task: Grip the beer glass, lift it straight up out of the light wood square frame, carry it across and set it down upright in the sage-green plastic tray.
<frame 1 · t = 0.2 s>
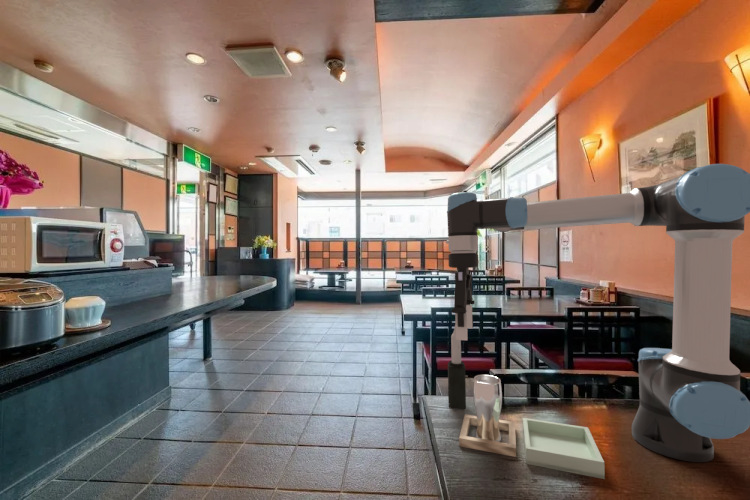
hand: (464, 333, 88), 27 cm above the table, tool pointing down, fingers open, 13 cm apart
tray: (558, 452, 80), on the table
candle: (457, 405, 105), on the table
light wood square frame: (488, 437, 87), on the table
beer glass: (488, 438, 87), resting in light wood square frame
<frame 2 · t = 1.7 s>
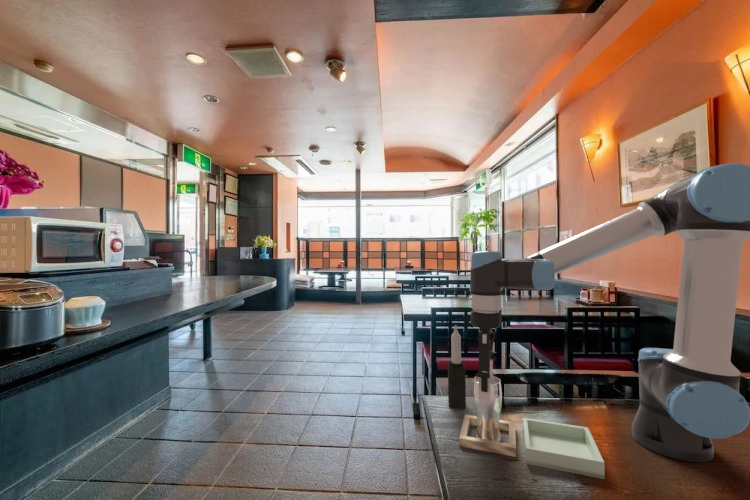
hand: (486, 392, 87), 11 cm above the table, tool pointing down, fingers open, 13 cm apart
nothing on the table moved.
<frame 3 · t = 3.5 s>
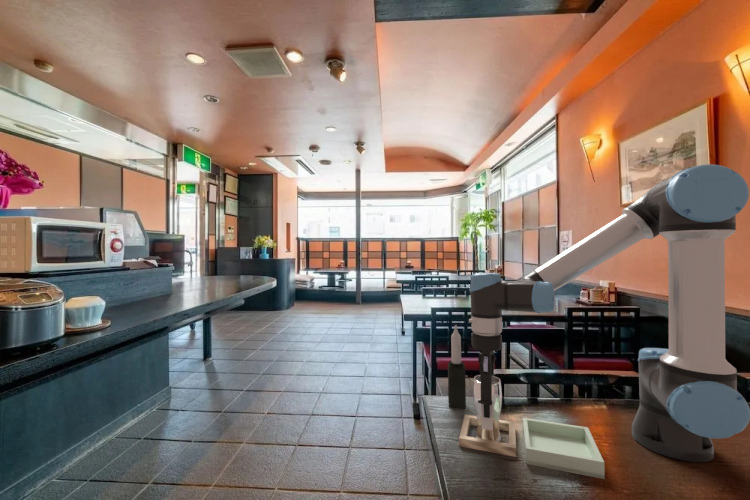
hand: (487, 421, 87), 4 cm above the table, tool pointing down, fingers closed on beer glass, 7 cm apart
beer glass: (488, 438, 87), resting in light wood square frame, touching gripper
everything else where it was.
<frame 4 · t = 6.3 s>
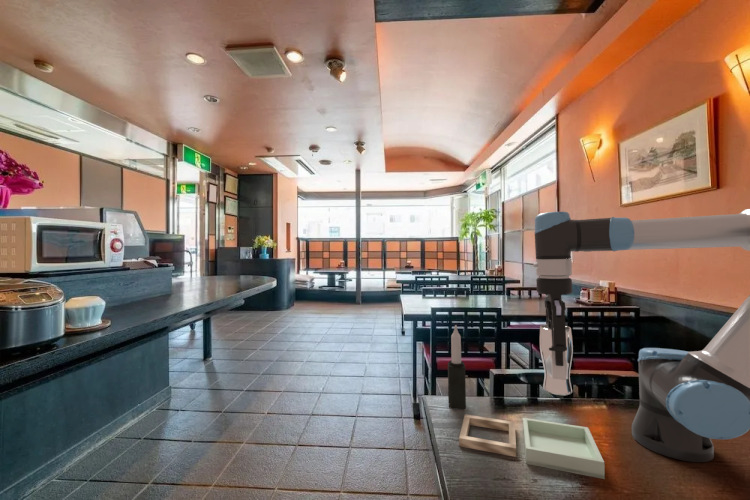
hand: (556, 373, 80), 19 cm above the table, tool pointing down, fingers closed on beer glass, 6 cm apart
beer glass: (557, 390, 80), point 14 cm above the table, touching gripper
everything else where it was.
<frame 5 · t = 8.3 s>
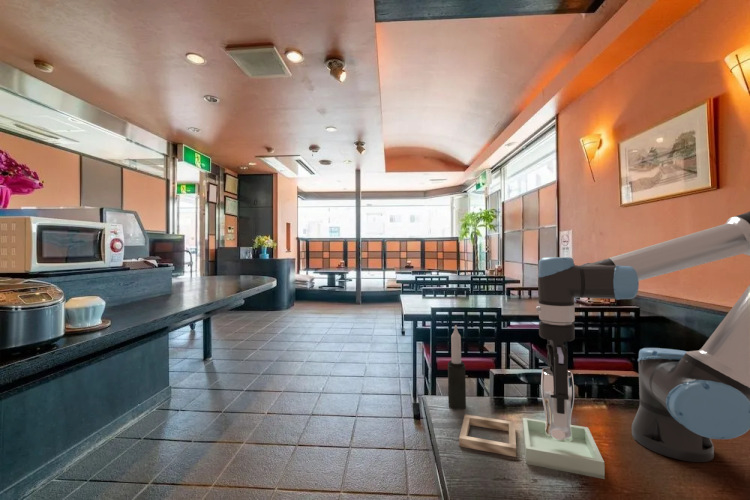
hand: (557, 418, 80), 8 cm above the table, tool pointing down, fingers closed on beer glass, 6 cm apart
beer glass: (558, 435, 80), point 4 cm above the table, touching gripper
everything else where it was.
when the fingers open (6 cm above the table, at t = 9.5 s): beer glass drops 1 cm, resting on tray.
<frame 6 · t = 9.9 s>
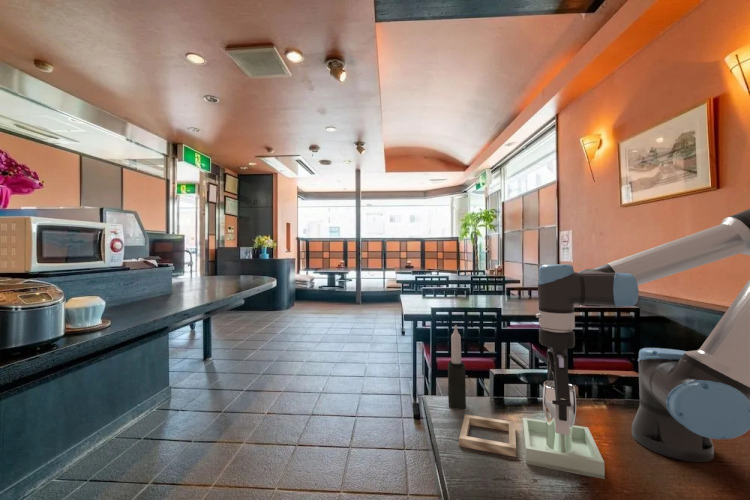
hand: (558, 420, 80), 7 cm above the table, tool pointing down, fingers open, 11 cm apart
beer glass: (559, 449, 80), point 1 cm above the table, touching tray
everything else where it was.
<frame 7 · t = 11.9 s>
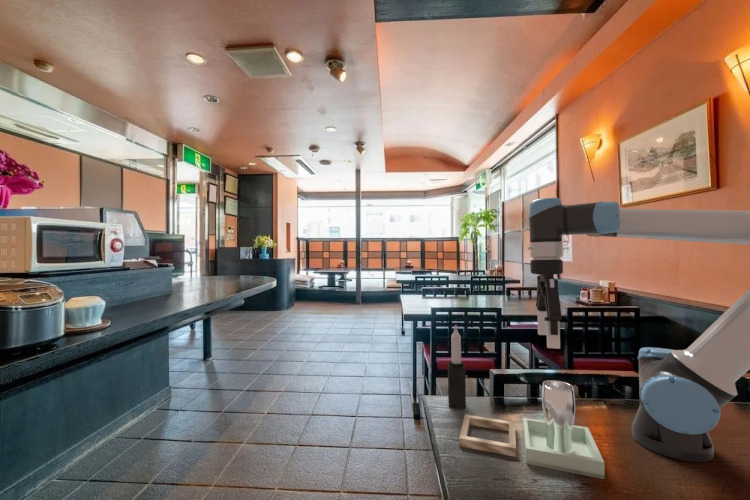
hand: (548, 341, 87), 25 cm above the table, tool pointing down, fingers open, 13 cm apart
nothing on the table moved.
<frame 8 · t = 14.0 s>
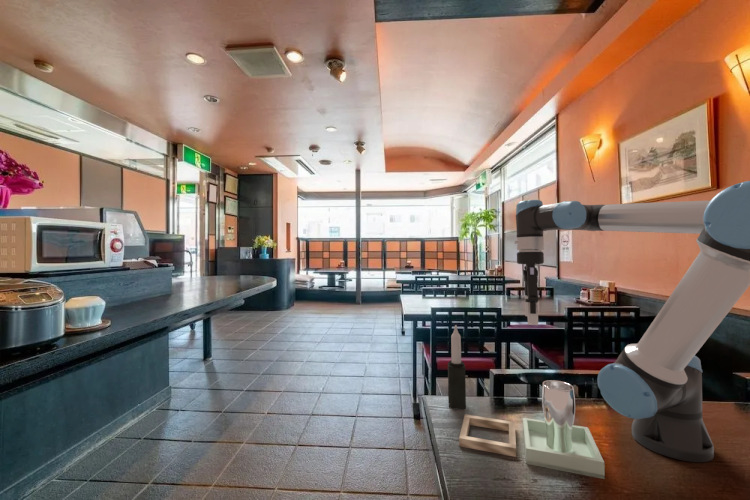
hand: (531, 320, 103), 27 cm above the table, tool pointing down, fingers open, 13 cm apart
nothing on the table moved.
at the end: beer glass inside the target area on the tray (0.1 cm from its centre), point 0.6 cm above the tray's base; beer glass tilted 0°; the gripper is holding nothing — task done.
